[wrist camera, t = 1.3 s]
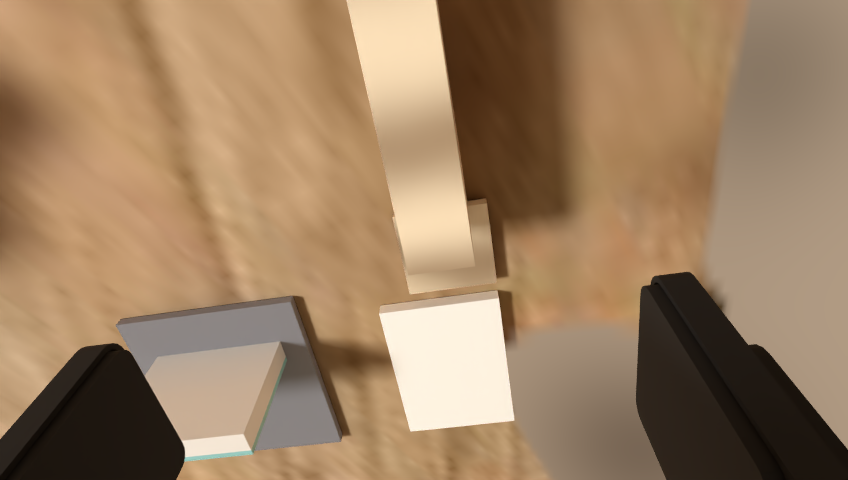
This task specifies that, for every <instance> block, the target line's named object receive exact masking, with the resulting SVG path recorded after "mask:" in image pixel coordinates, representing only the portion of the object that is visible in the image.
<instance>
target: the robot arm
mask: <svg viewBox="0 0 848 480" xmlns="http://www.w3.org/2000/svg"><path fill="white" fill-rule="evenodd" d="M636 404H637V409H638V413H639V417H640V419H641V422H642V424H643V426H644V429H645V431H646V433H647V436H648V438H649V440H650V443H651V445H652V447H653V449H654V452H655V454H656V457H657V459H658V461H659V463H660V466H661V468H662V470H663V473H664V475H665V477H666V480H848V450H847V448H846V447H845V446H844V444H843V443H842V442H841V441H840V440H839V438H838V437H837V436H836V435H835V434H834V432H833V431H832V430H831V429H830V427H829V426H828V425H827V424H826V422H825V421H824V420H823V419H822V417H821V416H820V415H819V414H818V413H817V411H816V410H815V409H814V408H813V406H812V405H811V404H810V403H809V401H808V400H807V399H806V398H805V397H804V395H803V394H802V393H801V392H800V390H799V389H798V388H797V387H796V386H795V384H794V383H793V382H792V381H791V379H790V378H789V377H788V376H787V375H786V373H785V372H784V371H783V370H782V368H781V367H780V366H779V365H778V364H777V362H776V361H775V360H774V359H773V357H772V356H771V355H770V354H769V353H768V352H767V351H766V350H765V349H764V348H763V347H761V346H758V345H756V344H754V345H748V344H747V343H746V342H745V341H744V339H743V338H742V337H741V335H740V334H739V333H738V331H737V330H736V329H735V328H734V326H733V325H732V324H731V322H730V321H729V320H728V319H727V317H726V316H725V315H724V313H723V312H722V311H721V310H720V308H719V307H718V306H717V304H716V303H715V302H714V301H713V299H712V298H711V297H710V296H709V294H708V293H707V292H706V290H705V289H704V288H703V287H702V285H701V284H700V283H699V281H698V280H697V279H696V278H695V276H694V275H693V274H692V273H690V272H683V273H675V274H667V275H659V276H654V277H653V278H652V281H651V285H648V286H643V287H642V289H641V296H640V319H639V341H638V364H637V386H636ZM184 460H185V447H184V445H183V443H182V441H181V439H180V437H179V436H178V434H177V432H176V430H175V429H174V427H173V425H172V423H171V422H170V420H169V418H168V416H167V415H166V413H165V411H164V409H163V408H162V406H161V404H160V402H159V401H158V399H157V397H156V395H155V394H154V392H153V390H152V388H151V387H150V385H149V383H148V381H147V380H146V378H145V376H144V374H143V373H142V371H141V369H140V367H139V366H138V364H137V362H136V360H135V359H134V357H133V355H132V354H131V353H130V352H129V351H127V350H124V349H123V348H122V346H120V345H118V344H114V343H111V344H103V345H95V346H87V347H84V348H81V349H80V350H78V351H77V352H76V353H75V354H74V355H73V357H72V358H71V359H70V360H69V361H68V362H67V363H66V365H65V366H64V367H63V368H62V369H61V370H60V371H59V373H58V374H57V375H56V376H55V377H54V378H53V379H52V381H51V382H50V383H49V384H48V385H47V386H46V388H45V389H44V390H43V391H42V392H41V393H40V394H39V396H38V397H37V398H36V399H35V400H34V401H33V402H32V404H31V405H30V406H29V407H28V408H27V409H26V410H25V412H24V413H23V414H22V415H21V416H20V417H19V418H18V420H17V421H16V422H15V423H14V424H13V425H12V426H11V428H10V429H9V430H8V431H7V432H6V433H5V435H4V436H3V437H2V438H1V439H0V480H176V479H177V477H178V475H179V473H180V471H181V468H182V466H183V464H184Z"/></svg>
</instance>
